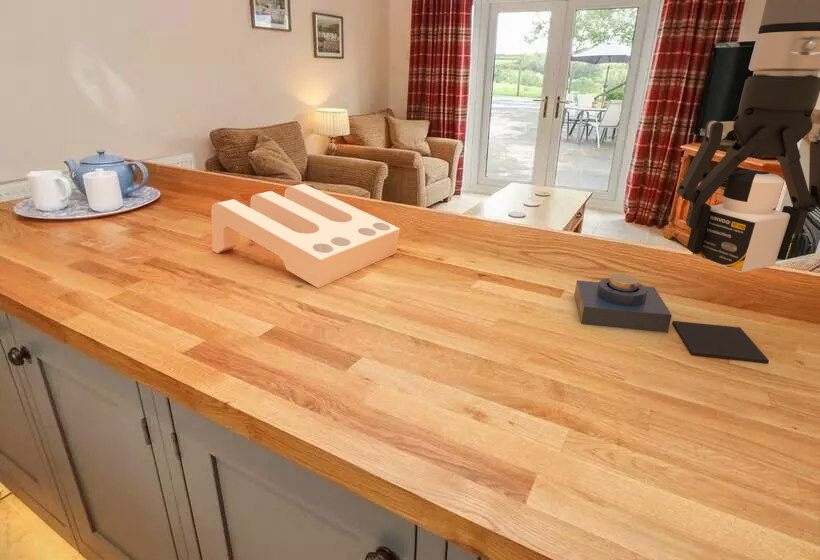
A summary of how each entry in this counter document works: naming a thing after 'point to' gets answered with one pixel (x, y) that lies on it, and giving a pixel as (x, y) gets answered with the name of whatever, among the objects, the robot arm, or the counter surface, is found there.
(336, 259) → the bracket
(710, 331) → the mat
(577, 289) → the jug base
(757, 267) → the medicine bottle
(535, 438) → the counter surface
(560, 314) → the counter surface
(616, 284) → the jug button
